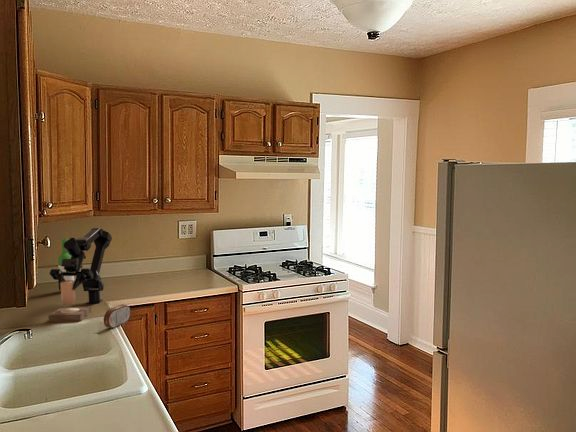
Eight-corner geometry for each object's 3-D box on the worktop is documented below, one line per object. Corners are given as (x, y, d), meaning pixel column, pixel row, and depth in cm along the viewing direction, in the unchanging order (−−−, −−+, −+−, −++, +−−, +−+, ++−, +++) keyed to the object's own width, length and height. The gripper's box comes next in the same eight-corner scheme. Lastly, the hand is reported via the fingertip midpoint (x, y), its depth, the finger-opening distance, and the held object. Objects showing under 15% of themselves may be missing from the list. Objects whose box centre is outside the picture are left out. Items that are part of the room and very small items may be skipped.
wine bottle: (77, 290, 287) (75, 238, 285) (67, 293, 280) (64, 240, 278) (67, 289, 290) (64, 237, 288) (56, 292, 283) (53, 239, 281)
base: (61, 313, 239) (60, 306, 239) (91, 312, 240) (90, 306, 240) (48, 322, 225) (48, 315, 225) (80, 321, 226) (80, 314, 226)
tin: (126, 320, 226) (126, 301, 226) (132, 320, 225) (131, 302, 225) (103, 330, 213) (102, 310, 212) (109, 330, 211) (108, 311, 211)
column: (61, 302, 233) (60, 281, 232) (75, 300, 236) (74, 279, 235) (61, 305, 228) (60, 283, 227) (76, 303, 231) (74, 282, 230)
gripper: (50, 251, 234) (39, 280, 224) (89, 251, 233) (80, 280, 223) (59, 265, 243) (49, 293, 233) (97, 264, 242) (88, 293, 232)
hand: (66, 289), depth 230 cm, fingers closed on column, 6 cm apart
